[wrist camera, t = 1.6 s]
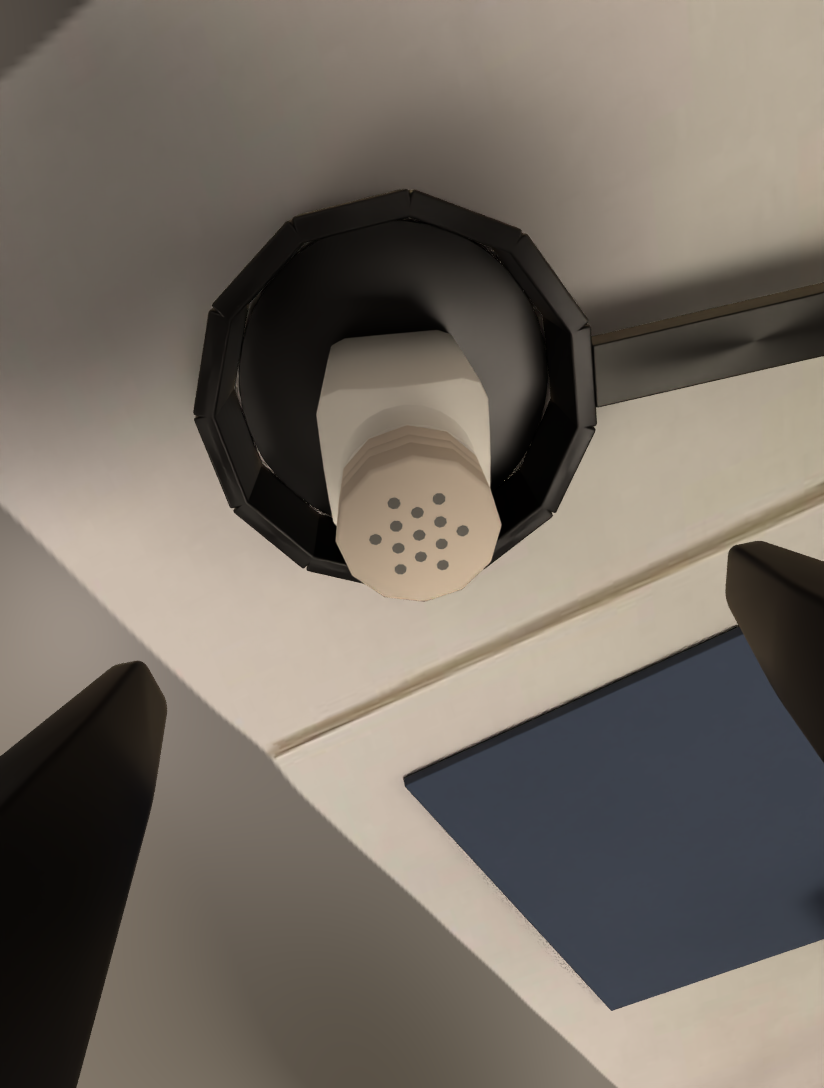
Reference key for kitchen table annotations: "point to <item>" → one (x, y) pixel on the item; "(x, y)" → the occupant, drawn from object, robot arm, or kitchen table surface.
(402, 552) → the salt shaker
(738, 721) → the mat
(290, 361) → the pan
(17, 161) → the kitchen table surface
